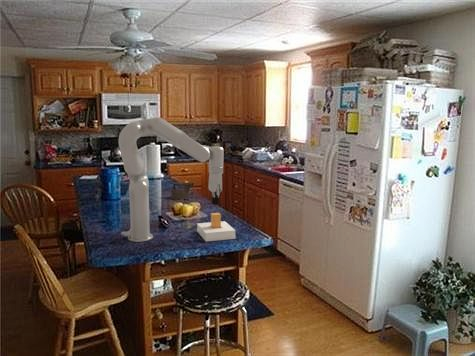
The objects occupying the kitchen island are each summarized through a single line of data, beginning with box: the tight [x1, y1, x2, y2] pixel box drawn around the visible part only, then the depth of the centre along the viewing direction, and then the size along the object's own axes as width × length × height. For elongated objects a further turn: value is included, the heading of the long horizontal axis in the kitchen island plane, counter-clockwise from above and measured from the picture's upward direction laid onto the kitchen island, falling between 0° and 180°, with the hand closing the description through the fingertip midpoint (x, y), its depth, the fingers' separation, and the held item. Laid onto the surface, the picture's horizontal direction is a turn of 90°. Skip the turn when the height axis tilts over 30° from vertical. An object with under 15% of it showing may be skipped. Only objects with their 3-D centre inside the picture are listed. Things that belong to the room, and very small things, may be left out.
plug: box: [210, 212, 222, 229], centre depth 214 cm, size 4×4×10 cm
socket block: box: [196, 220, 236, 243], centre depth 215 cm, size 16×18×4 cm
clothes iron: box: [171, 181, 195, 201], centre depth 297 cm, size 8×16×13 cm, turn 72°
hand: (215, 204), depth 212 cm, fingers closed
